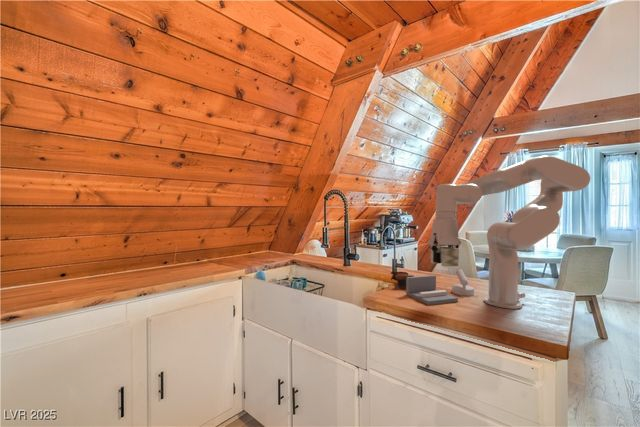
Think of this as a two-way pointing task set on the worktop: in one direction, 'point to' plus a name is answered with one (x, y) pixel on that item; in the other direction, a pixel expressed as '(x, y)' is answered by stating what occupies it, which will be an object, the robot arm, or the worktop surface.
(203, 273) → the worktop surface
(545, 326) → the worktop surface
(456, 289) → the wall hook
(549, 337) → the worktop surface
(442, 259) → the saddle block
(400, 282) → the pottery mug
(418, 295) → the board
